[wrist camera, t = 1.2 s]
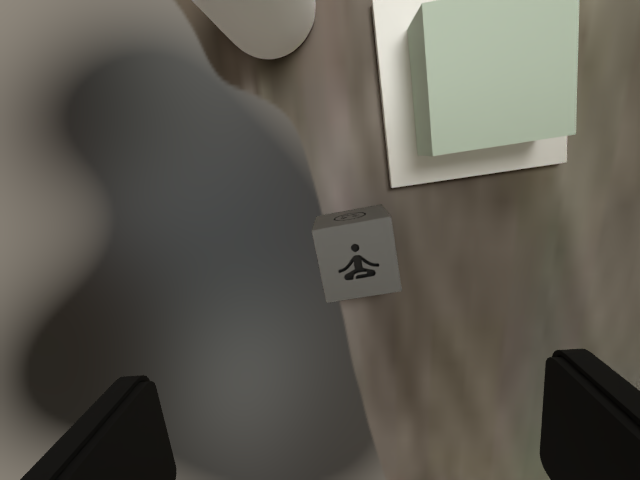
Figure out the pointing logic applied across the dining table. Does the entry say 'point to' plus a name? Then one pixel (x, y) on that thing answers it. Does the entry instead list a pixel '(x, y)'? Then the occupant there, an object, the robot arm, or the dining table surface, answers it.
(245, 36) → the can
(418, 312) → the dining table surface
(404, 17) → the baseplate
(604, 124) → the dining table surface
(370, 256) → the dice cube
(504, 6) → the sage brick
